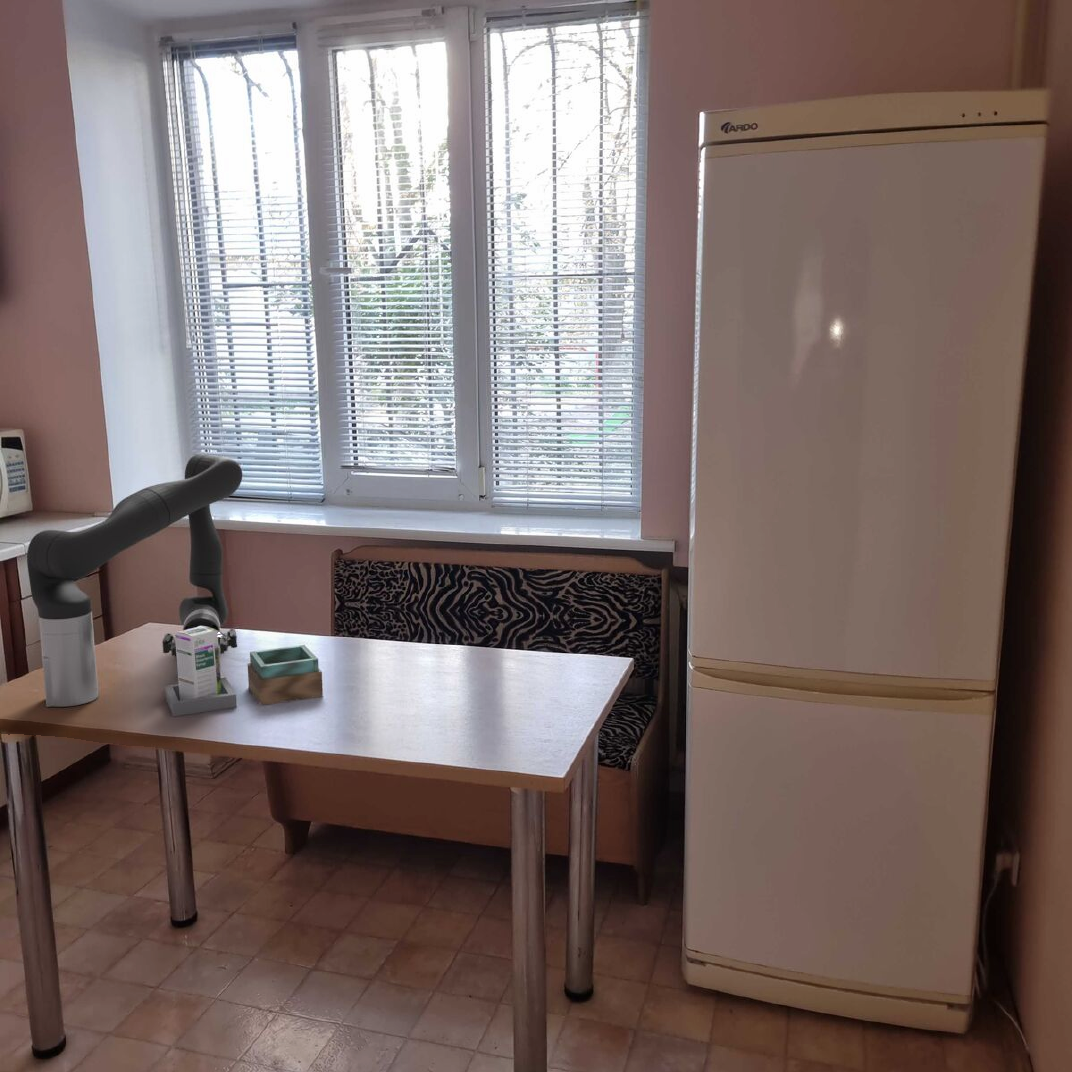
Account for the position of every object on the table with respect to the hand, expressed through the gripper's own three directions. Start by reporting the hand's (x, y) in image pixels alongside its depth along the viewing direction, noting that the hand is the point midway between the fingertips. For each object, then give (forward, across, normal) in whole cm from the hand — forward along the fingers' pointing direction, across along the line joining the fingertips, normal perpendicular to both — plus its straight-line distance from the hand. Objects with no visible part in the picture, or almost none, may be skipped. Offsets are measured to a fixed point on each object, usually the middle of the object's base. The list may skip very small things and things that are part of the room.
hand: (199, 650), depth 191 cm
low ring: (+6, 0, +9) cm, 11 cm away
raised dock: (+4, +16, +8) cm, 19 cm away
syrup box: (+6, 0, +9) cm, 11 cm away
